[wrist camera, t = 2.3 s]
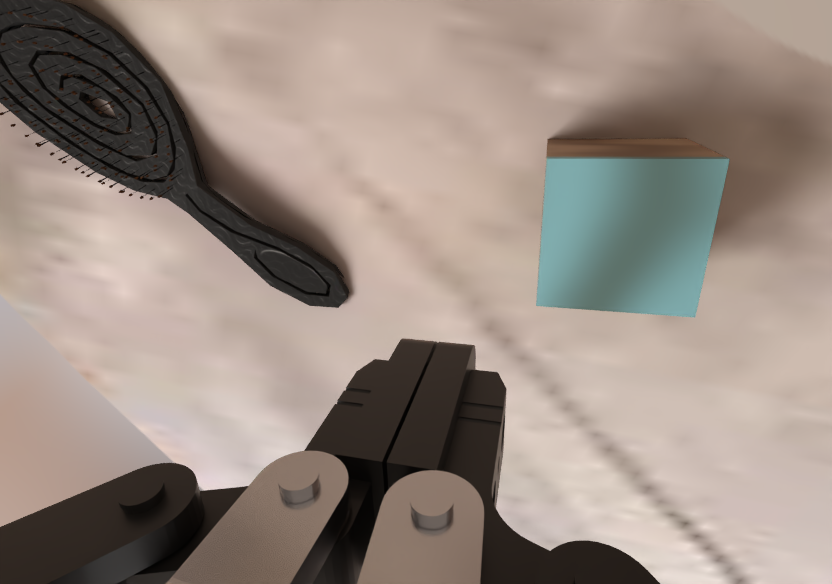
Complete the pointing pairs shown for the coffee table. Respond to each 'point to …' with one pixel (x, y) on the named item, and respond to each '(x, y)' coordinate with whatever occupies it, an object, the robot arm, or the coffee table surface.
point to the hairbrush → (135, 134)
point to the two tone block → (628, 224)
